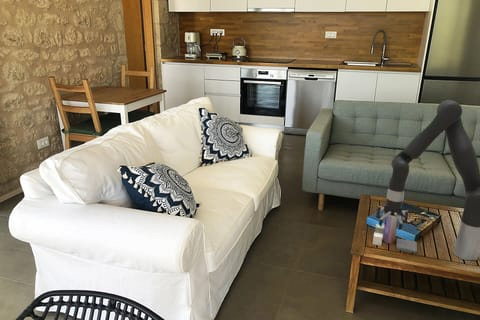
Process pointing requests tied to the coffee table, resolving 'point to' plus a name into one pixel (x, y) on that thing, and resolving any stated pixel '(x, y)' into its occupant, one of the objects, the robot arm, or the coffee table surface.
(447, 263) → the coffee table surface
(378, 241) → the cream block
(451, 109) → the robot arm
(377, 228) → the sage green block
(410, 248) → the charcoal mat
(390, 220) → the beverage can
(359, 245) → the coffee table surface
